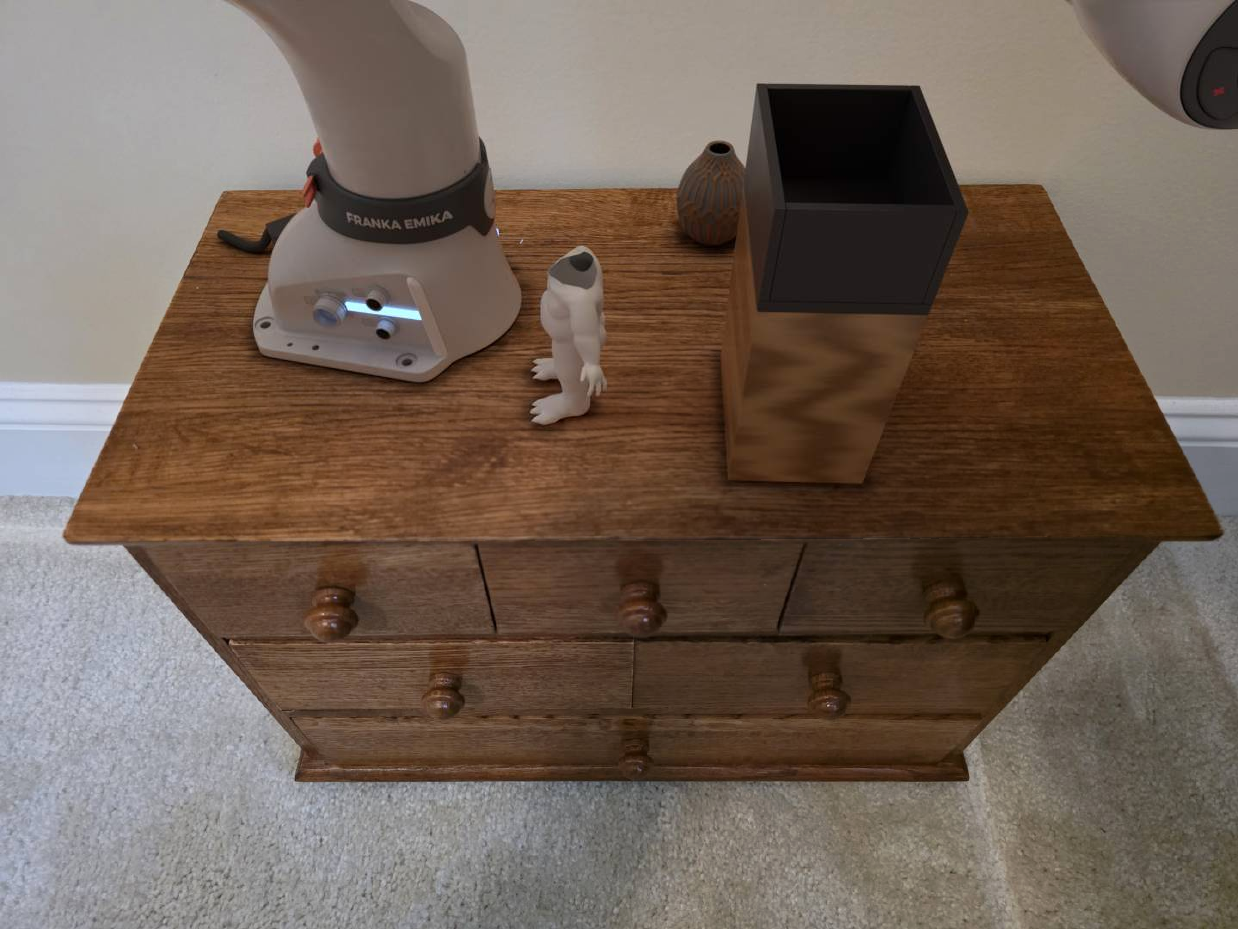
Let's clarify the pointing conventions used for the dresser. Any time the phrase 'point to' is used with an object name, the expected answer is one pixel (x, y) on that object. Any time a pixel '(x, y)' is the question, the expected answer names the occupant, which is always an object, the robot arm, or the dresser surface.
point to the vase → (712, 195)
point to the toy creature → (572, 335)
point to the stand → (806, 383)
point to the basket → (848, 200)
